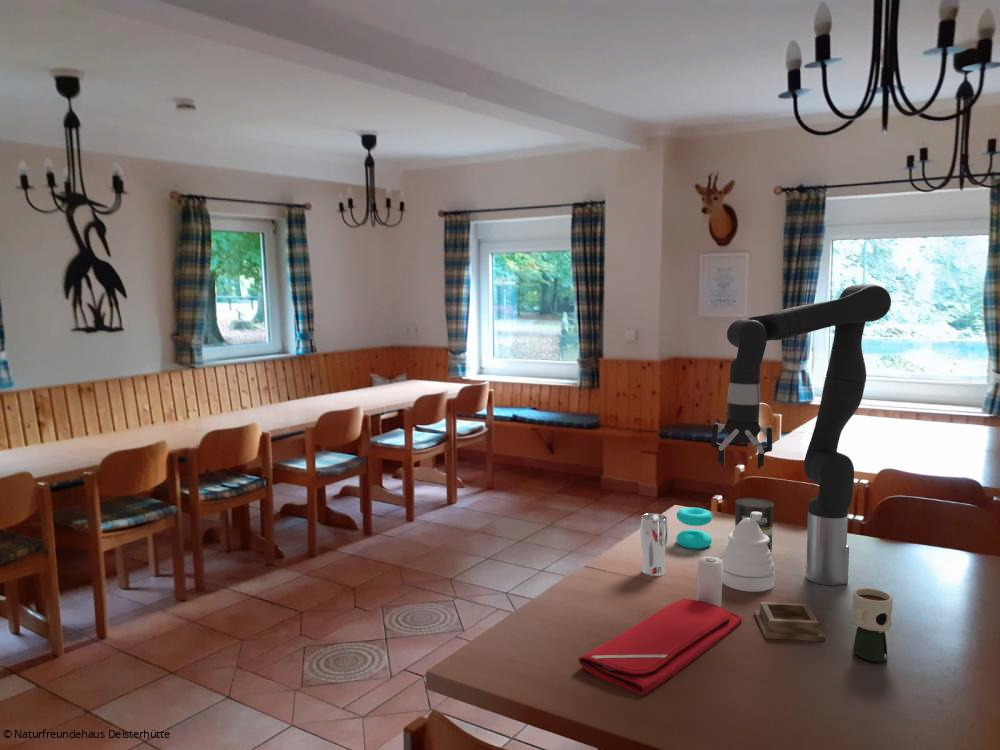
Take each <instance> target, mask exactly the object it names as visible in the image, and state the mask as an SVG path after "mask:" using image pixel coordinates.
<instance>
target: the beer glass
mask: <svg viewBox="0 0 1000 750" xmlns="http://www.w3.org/2000/svg"><path fill="white" fill-rule="evenodd" d="M640 517H641V520H640V542H641V543H640V544H641V549H642V554H643V557H642V558H643V561H642V562H643V563H642V568H641V573H642V574H643V573H644V575H645V574H646V576H648V575H649V576H648V577H654V576H657V577H662V575H663V576H664V575H666V568H665V553H666V549H667V543H668V536H669V535H668V534H669V533H668V532H669V531H668V517H667V515H665V514H660V513H645V514H642V515H641V516H640Z"/></svg>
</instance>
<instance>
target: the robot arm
mask: <svg viewBox="0 0 1000 750" xmlns="http://www.w3.org/2000/svg"><path fill="white" fill-rule="evenodd" d="M891 306H892V298H891V295H890V293H889V291H888V290H887V289H886V288H884V287H882V286H881V285H877V284H871V283H870V284H869V283H868V284H866V283H865V284H863V283H862V284H854V285H853V284H852V285H850V286H847V287H846V288H844V290H843V291H842V292H841V293H840V295H839V297H838V298H837V299H832V300H827V301H822V302H817V303H816V302H814V303H810V304H804V305H803V304H802V305H798V306H794V307H789V308H786V309H781V310H777V311H774V312H771V313H768V314H763V315H756V316H750V317H745V318H740V319H738V320H735V321H733V322H732V323H731V324H730V325H729V327H728V328H727V331H726V339H727V340H728V342H729V343H730V344H731V345H732V346H733V347H735V348H737V353H736V357H735V358H734V359H733V360H732V361H731V363H730V366H729V384H728V391H727V397H726V398H727V399H726V400H727V404H726V405H727V406H726V423H725V424H723V423H719V422H714V423H713V425H712V433H711V442H710V444H711V445H710V446H711V447H712V448H715V449H717V451H718V464H720V465H721V466H725V463H726V462H725V461H726V460H725V459H726V457H725V456H726V447H727V446H728V445H730V443H731V442H734V443H743V444H749V443H751V444H752V445H753V446H754V447H755V448H756V450H757V451H758V452H757V465H756V466H757V469H758V470H759V469H761V467H763V466H764V463H765V454H766V453H768V452H769V453H770V452H772V451H773V427H772V426H771V425H768V426H761V425H760V422H759V421H760V405H761V404H760V403H761V387H760V381H761V364H762V362H763V360H764V359H763V358H764V355H765V352H766V347H767V342H768V341H781V340H786V339H791V338H793V337H798V336H801V335H805V334H807V333H812V332H815V331H819V330H823V329H827V328H830V327H834V335H833V341H832V346H831V351H830V355H829V360H828V365H827V370H826V374H825V379H824V383H823V388H822V391H821V392H822V393H821V399H820V403H819V407H818V412H817V416H816V420H815V423H814V425H815V426H814V428H813V432H812V435H811V438H810V440H809V444H808V447H807V450H806V453H805V457H804V461H803V472H804V475H805V476H806V478H807V479H808V480H809V481H811V482H812V483H815V484H817V485H818V486H819V487H818V494H817V495H818V496H817V497H816V498H815V497H814V498H811V499H810V500H809V501H808V505H807V530H806V531H807V532H806V533H807V534H806V535H807V537H806V559H805V560H806V562H805V563H806V564H805V578H807V580H808V581H810V582H812V583H815V584H819V585H824V586H840V585H844V584H845V585H848V584H849V566H850V547H849V545H848V543H847V541H848V519H849V509H850V507H851V504H852V501H853V492H854V486H855V485H854V483H855V466H854V464H853V461H852V459H851V458H850V457H849V456H848V455H845V454H843V453H841V452H839V451H838V447H839V446H838V445H839V442H840V437H841V434H842V431H844V430H843V429H844V427H845V426H846V425H847V423H848V422H849V421H850V420H851V418H852V416H854V414H855V413H856V411H857V410H858V408H859V406H860V405H861V403H862V400H863V396H864V390H865V387H866V381H867V367H866V363H865V358H864V354H863V347H862V343H863V342H862V341H863V335H864V330H865V326H866V324H867V323H870V322H876V321H878V320H881V319H883V318H884V317H886V316H887V314H888V312H889V311H890V309H891ZM723 429H724V431H725V432H726V434H727V436H726V437H725V438H724V440H723V441H722V442H721V443H719V442H718V437H719V433H721V432H722V430H723ZM761 432H762V435H763V436H765V437H766V446H763V445H762V443H761V442H760V441H759V439H758V437H757V436H758V435H759V433H761Z"/></svg>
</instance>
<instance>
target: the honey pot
mask: <svg viewBox="0 0 1000 750" xmlns="http://www.w3.org/2000/svg"><path fill="white" fill-rule="evenodd" d="M751 515H752V518H745V519H743V520H742V521H740V523H739V524H738V525H737V527H736V528H735V527H734V530H733V531H731V532H729V534H728V535H727V538H728V543H727V545H726V546H725V551H724V552H723V555H722V557H721V558H720V559H721V560H723V580H722V585H725V586H726V587H728V588H732V589H735V590H739V591H745V592H756V593H757V592H766V591H768V590H771V589H772V588H773V587H774V585H775V563H774V561H773V556H772V554H771V555H770V553H771V552H770V550H769V549H768V546H767V543H769V541H770V539H769V537H768V536H767V535H765V534H763V533H762V531H761V529H760V527H759V525H758V524H757V523H756V522H755V521H758V520H760V519H761V517H762V513H761V512H751Z"/></svg>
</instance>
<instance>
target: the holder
mask: <svg viewBox="0 0 1000 750" xmlns="http://www.w3.org/2000/svg"><path fill="white" fill-rule="evenodd" d="M753 615H754V617H755V619H756V621H757V623H758V626H759V627H760V630H761V632H762V634H763V636H764V638H765V639H774V640H775V639H776V640H792V641H793V640H797V641H813V642H814V641H815V642H825V641H826V636H825V634H824V633H823V631H822V630H821V628H820V622H819V621H818V619H817V617H816V616H815V615H814V613H813V612H812V610H811V608H810V607H809V605H808V604H807V603H798V602H797V603H796V602H795V603H794V602H774V601H773V602H772V601H759V610H758V609H757V610H754V613H753Z"/></svg>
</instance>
